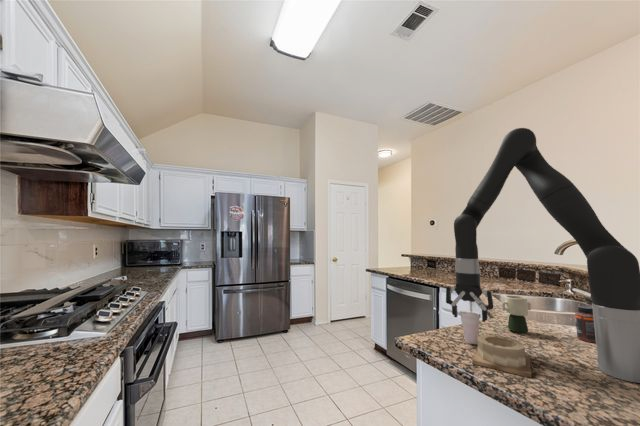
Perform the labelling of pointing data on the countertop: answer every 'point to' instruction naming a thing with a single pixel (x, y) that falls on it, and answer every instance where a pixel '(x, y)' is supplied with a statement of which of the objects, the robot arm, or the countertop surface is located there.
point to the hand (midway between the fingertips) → (469, 318)
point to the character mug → (517, 312)
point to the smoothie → (470, 325)
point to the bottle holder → (502, 355)
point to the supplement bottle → (585, 324)
